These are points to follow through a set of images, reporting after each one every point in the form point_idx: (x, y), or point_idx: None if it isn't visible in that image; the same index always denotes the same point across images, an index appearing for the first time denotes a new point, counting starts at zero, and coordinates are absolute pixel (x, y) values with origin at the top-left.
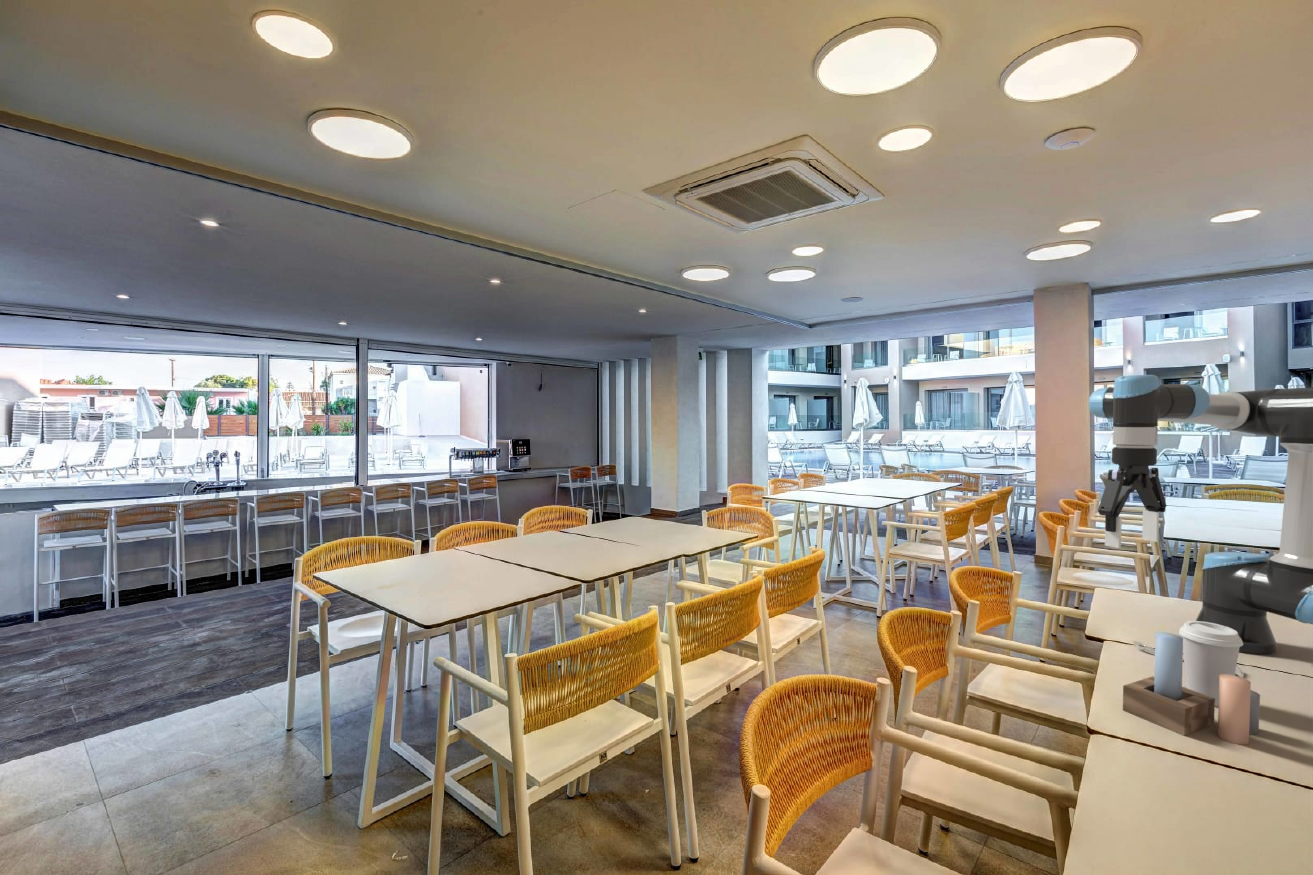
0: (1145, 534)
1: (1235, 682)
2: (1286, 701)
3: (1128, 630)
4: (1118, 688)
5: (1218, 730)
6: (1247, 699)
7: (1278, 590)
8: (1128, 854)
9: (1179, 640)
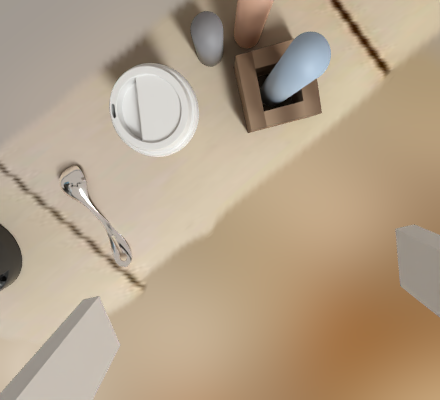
0: (101, 358)
1: None
2: (85, 100)
3: None
4: (259, 166)
5: (258, 39)
6: None
7: None
8: None
9: (310, 32)
